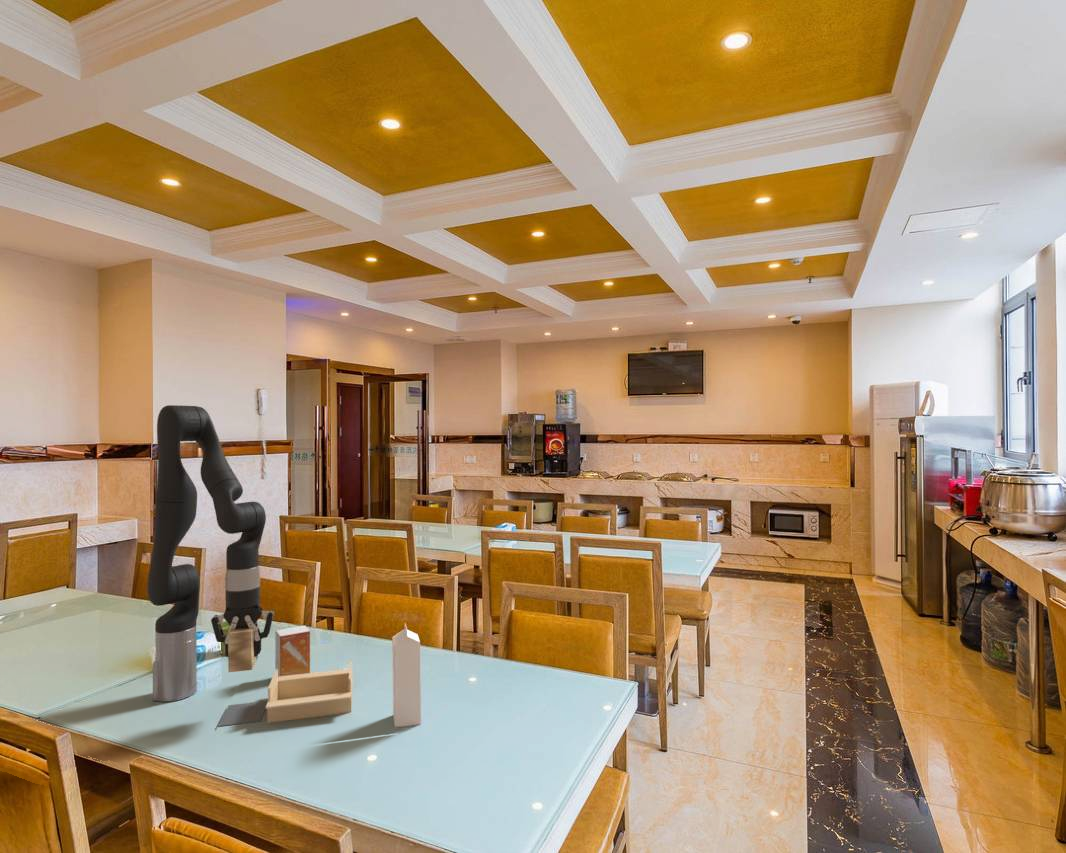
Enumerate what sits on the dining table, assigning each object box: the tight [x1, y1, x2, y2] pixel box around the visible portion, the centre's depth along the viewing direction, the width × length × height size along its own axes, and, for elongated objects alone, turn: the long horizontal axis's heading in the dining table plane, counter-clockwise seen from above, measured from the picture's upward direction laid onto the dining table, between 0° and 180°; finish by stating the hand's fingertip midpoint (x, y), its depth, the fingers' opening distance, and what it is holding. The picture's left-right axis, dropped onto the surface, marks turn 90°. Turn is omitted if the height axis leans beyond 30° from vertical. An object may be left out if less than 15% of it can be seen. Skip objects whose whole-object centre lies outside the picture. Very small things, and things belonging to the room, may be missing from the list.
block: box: [227, 620, 259, 673], centre depth 145 cm, size 5×8×9 cm, turn 15°
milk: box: [391, 622, 422, 728], centre depth 141 cm, size 6×6×22 cm
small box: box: [274, 624, 311, 677], centre depth 167 cm, size 8×6×13 cm
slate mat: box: [217, 700, 268, 728], centre depth 145 cm, size 9×11×1 cm
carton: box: [265, 660, 354, 724], centre depth 149 cm, size 19×18×8 cm
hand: (243, 656), depth 145 cm, fingers closed on block, 5 cm apart
